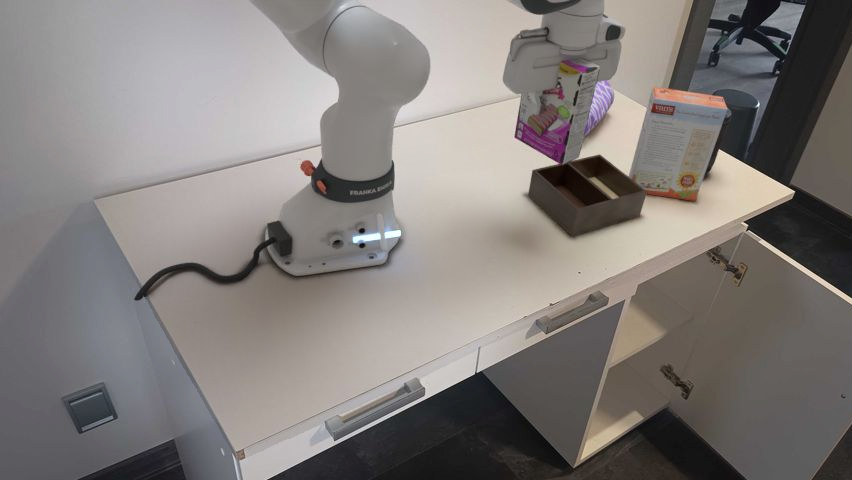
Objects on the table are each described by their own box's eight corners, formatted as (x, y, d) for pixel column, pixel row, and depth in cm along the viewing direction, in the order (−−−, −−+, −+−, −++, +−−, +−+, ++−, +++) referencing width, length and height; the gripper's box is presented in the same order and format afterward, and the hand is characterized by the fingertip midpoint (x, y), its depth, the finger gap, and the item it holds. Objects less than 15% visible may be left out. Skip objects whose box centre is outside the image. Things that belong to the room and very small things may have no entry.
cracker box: (692, 187, 145) (724, 95, 132) (695, 202, 141) (729, 109, 127) (627, 176, 145) (652, 83, 132) (628, 191, 141) (655, 97, 127)
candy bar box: (512, 138, 117) (527, 45, 107) (531, 131, 120) (547, 39, 110) (561, 167, 112) (582, 71, 102) (580, 158, 115) (602, 65, 105)
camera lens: (666, 163, 152) (686, 100, 142) (697, 160, 154) (718, 99, 145) (685, 182, 146) (707, 119, 137) (716, 179, 149) (740, 117, 139)
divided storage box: (571, 236, 126) (577, 210, 123) (527, 195, 135) (532, 169, 131) (639, 216, 134) (647, 191, 130) (593, 178, 143) (599, 154, 139)
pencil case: (577, 102, 170) (584, 65, 164) (612, 112, 168) (621, 76, 162) (547, 138, 154) (554, 99, 148) (586, 150, 152) (595, 111, 146)
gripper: (525, 39, 96) (511, 128, 105) (634, 27, 106) (613, 110, 114) (501, 23, 100) (490, 110, 109) (608, 13, 109) (590, 93, 118)
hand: (554, 110), depth 112 cm, fingers closed on candy bar box, 5 cm apart
